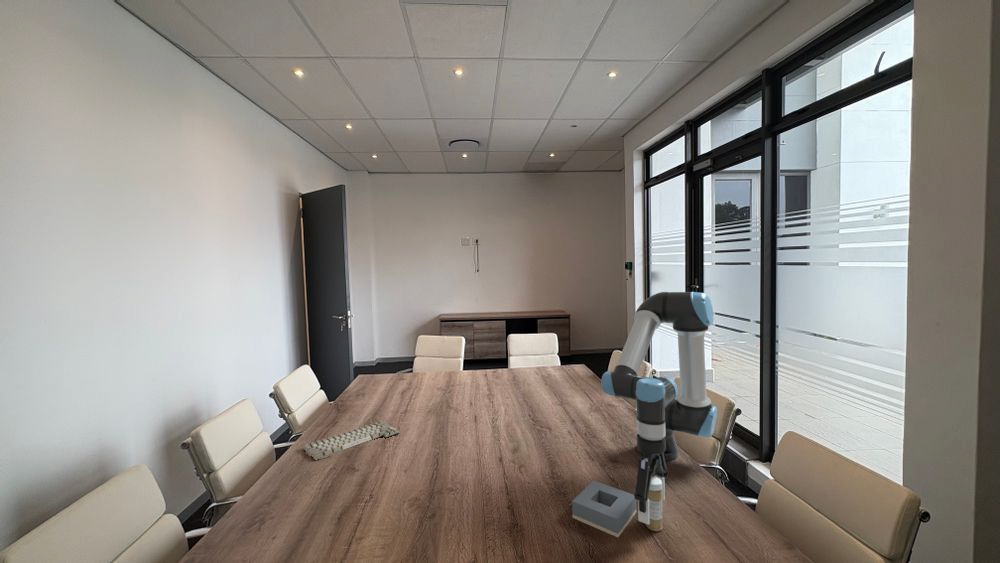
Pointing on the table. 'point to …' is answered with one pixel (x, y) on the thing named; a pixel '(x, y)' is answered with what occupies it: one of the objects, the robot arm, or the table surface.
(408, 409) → the table surface
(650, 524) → the sprinkles bottle
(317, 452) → the mechanical keyboard
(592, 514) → the socket block
